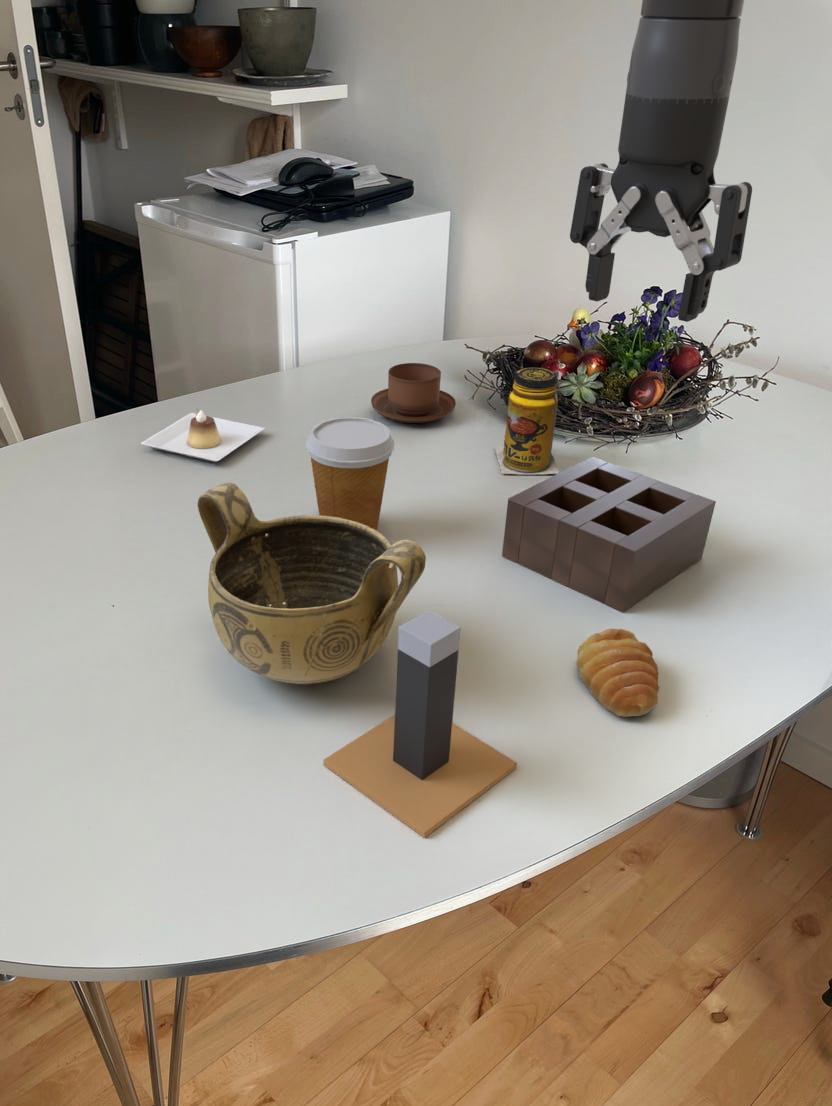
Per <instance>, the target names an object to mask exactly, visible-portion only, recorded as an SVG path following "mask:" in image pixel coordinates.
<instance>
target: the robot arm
mask: <svg viewBox="0 0 832 1106" xmlns="http://www.w3.org/2000/svg"><path fill="white" fill-rule="evenodd" d="M744 4H745V0H642V2H641V8H640V16H641V17H639V21H638V26H637V30H636V35H635V38H634V41H633V45H632V50H631V54H630V60H629V68H628V73H627V76H626V89H625V95H624V96H625V97H624V102H623V103H624V104H623V111H622V119H621V124H620V125H621V126H620V133H619V141H618V145H617V146H618V147H617V152H618V157H619V158H618V162H617V165H616V168H610V167H609V166H608V164H606V163H604V162H603V163H602V162H601V163H596V164H591V165H588V166H584V167H583V168H582V169H581V170H580V174H579V178H578V184H577V191H576V197H575V202H574V208H573V215H572V220H571V226H570V232H569V239H570V241H571V242H572V243H573V244H580V245H581V246H582V247H584V248H585V249H586V250H587V252H588V263H587V271H586V277H585V278H586V279H585V283H584V284H585V286H584V287H585V291H586V293H588V300H589V301H591V302H593V301H594V302H601V301H603V300H606V299H607V298H608V297H609V295H610V290H611V284H612V277H613V270H614V263H615V256H616V253H615V252H612V249H613V248H614V247H616V245H617V244H618V242H620V240H621V239H622V238H623V237H624V236H625V234H627V233H628V232H633V233H639V234H640V233H647V232H649V233H650V234H652V235H653V236H657V237H661V238H668V237H671V238H672V241H673V243H674V245H675V248H676V249H677V250H679V251H680V252H681V254H682V256H683V259H684V261H685V263H686V266H687V267H688V271H689V272H688V273H686V274H685V278H684V283H683V289H682V293H681V299H680V305H679V308H678V316H677V319H678V321H682V322H685V323H689V322H691V321H693V320H696V319H697V318H698V317H699V314H702V313H704V311H705V310H706V308H707V307H708V306H707V305H708V302H709V301H708V300H709V296H710V295H709V294H710V290H711V288H712V287H711V286H712V281H713V277H714V274H715V272H716V271H717V272H718V271H722V270H726V269H728V268H731V267H733V266H736V265H738V264H739V263H740V262H741V260H742V256H743V250H744V244H745V237H746V232H747V226H748V219H749V212H750V207H751V199H752V194H753V187H752V184H751V183H750V182H748V181H742V182H739V183H736V184H728V183H727V184H726V183H725V184H724V183H716V180H715V179H716V178H715V174H714V173H715V166H716V162H717V160H718V156H719V153H720V149H721V142H722V136H723V132H724V127H725V121H726V117H727V111H728V105H729V101H730V96H731V91H732V85H733V79H734V74H735V70H736V65H737V59H738V54H739V53H738V52H739V40H740V39H739V38H740V26H741V20H742V19H741V18H740V17H742V15H743V9H744ZM610 189H611V190H612V192H613V195H614V198H615V201H616V203H617V204H616V205H615V206H614V208H613V209H612V210H611V212H609V214H608V215H607V216H606V217H605V218H604V220H603V221H601V217H602V213H603V211H602V210H603V207H604V200H605V195H607V194H608V193H609V191H610ZM710 202H713V205H714V206H713V207H714V209H713V210H714V212H715V214H716V215H717V216H718V218H717V223H716V231H715V238H714V245H713V243H712V240H711V230H710V228H709V226H708V223H707V220H706V218H705V215H704V214H703V210H704V209H705V208H706V207H707V206H708V204H710ZM600 222H601V224H600Z"/></svg>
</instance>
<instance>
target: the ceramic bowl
mask: <svg viewBox="0 0 832 1106" xmlns="http://www.w3.org/2000/svg"><path fill="white" fill-rule="evenodd" d="M197 509H198V514H199V518H200V519H201V522H202V524H203V526H204V529H205V531H206V533H207V536H208V538H209V540H210V543H211V545H212V548H213V550H214V553H215V554H214V555H213V557H212V559H211V561H210V564H209V565H210V566H209V572H208V581H207V596H208V597H207V599H208V606H209V611H210V615H211V618H212V622H213V625H214V629H215V631H216V634H217V636H218V638H219V640H220V642H221V643H222V646H223V647H224V648H225V649H226V651H228V653H229V655H231V656H232V658H233V659H234V660H236V662H238V663H239V664H240V665H242V666H243V667H245V668H246V669H248V670H250V671H251V672H253V673H256V674H258V675H259V676H262V677H264V678H267V679H268V680H273V681H277V682H280V683H284V684H285V683H286V684H293V685H312V684H313V685H314V684H322V683H327V682H331V681H334V680H338V679H340V678H343V677H345V676H347V675H349V674H351V673H353V672H355V671H356V670H358V669H360V668H361V667H362V666H364V664H366V663H368V661H369V660H370V659H372V658H373V656H374V655H375V654H376V653H377V652H378V651H379V649H380V648H381V647H382V646H383V644H384V643H385V641H386V639H387V637H388V635H389V633H390V631H391V629H392V626H393V623H394V621H395V617H396V614H397V612H398V610H399V609H400V608H401V606H402V604H403V603H404V602H405V600H406V598H407V597H408V595H409V594H410V593H411V591H412V589H413V588H414V586H415V585H416V584H417V583H418V581H419V579H420V578H421V577H422V575H423V573H424V571H425V568H426V561H427V556H426V553H425V552H424V550H423V548H422V547H421V545H420V544H418V543H417V542H415V541H414V540H413V541H412V540H410V539H400V540H398V541H395V542H394V543H393V544H391V542H390V541H389V540H388V538H387V537H386V536H385V535H383V534H382V533H381V532H379V531H378V530H377V531H376V530H375V529H372V528H370V527H369V526H366V525H364V524H361V523H358V522H355V521H351V520H347V519H343V518H339V517H331V516H319V514H317V515H316V514H313V515H312V514H311V515H310V514H309V515H307V514H306V515H305V514H304V515H291V516H282V517H278V518H274V519H270V520H265V521H264V520H260V519H258V518H257V517H256V514H255V513H254V511H253V508H252V506H251V503H250V502H249V499H248V497H247V496H246V495H245V493H244V491H243V490H242V489H241V488H240V487H239V486H238V485H237V484H236V483H233V482H231V481H228V482H227V481H225V482H223V483H221V484H219V485H217V486H215V487H212V488H210V489H208V490H206V491H205V492H204V493H202V494H201V495H200V496H199V497H198V499H197ZM398 570H399V572H400V574H401V577H400V582H399V577H398Z"/></svg>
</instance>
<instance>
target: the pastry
mask: <svg viewBox="0 0 832 1106" xmlns="http://www.w3.org/2000/svg"><path fill="white" fill-rule="evenodd" d="M653 654H654V653H653V651H652V649H650V647H649V646H648V644H647V643H646V642H643V641H639V639H637V637H636V636H635V633H633V632H631V631H629V630H627V629H623V628H607V629H605V630H603V631H600V632H596V633H593V634H591V635H590V636H589V637H587V638H586V640H584V641H583V642H582V643H581V644H580V645H579V646H578V649H577V659H576V669H577V672H578V673H579V674H578V675H579V676H580V677H579V678H580V679H581V681H582V682H583V683H584V685H585V687H586V688H587V689H588V690H589V692H590V694H592V697H593V696H594V698H595V699H596V701H597V702H599V704H600V705H601V706H602V707H603V708H604V709H606V710H608V711H610V712H611V713H613V714H614V715H615V716H617V717H623V718H626V717H640V716H644V715H647V714H649V713H650V711H651V710H653V708H654V707H656V706H657V705H658V703H659V702H658V701H659V700H658V699H659V697H658V695H659V691H660V685H659V674H660V673H659V667H658V665H657V663H656V662H655V659H654V657H653Z"/></svg>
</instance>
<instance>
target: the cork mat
mask: <svg viewBox="0 0 832 1106" xmlns="http://www.w3.org/2000/svg"><path fill="white" fill-rule="evenodd" d="M394 725H395V714H393V715H392V716H390V717H388V718H387V719H385V720H384V721H382V722H381V723H379V724H377V725H375V726H374V727H373V728H371V729H369V730H368V731H366V732H365V733H363V734H362V735H360V736H358V737H357V738H356V739H354V740H352V741H351V742H349V743H348V744H346V745H344V746H343V747H341V748H339V749H338V750H336V751H335V752H333V753H332V754H330V755H329V756H327V757H325V758H324V759H323V760H322V762H323V764H322V765H323V766H324V767H326V768H327V769H328V770H330V772H332V773H334V774H335V775H337V776H338V777H340V778H341V779H342V780H344V781H345V782H346V783H347V784H349V785H350V786H352V787H353V788H354V789H356V790H358V791H359V792H360V793H361V794H363V795H364V796H366V797H367V798H368V799H369V800H371V801H372V802H374V803H375V804H377V805H378V807H381V808H382V809H383V810H384V811H386V812H387V813H388V814H390V815H392V816H393V817H395V818H396V819H397V820H399V821H400V822H401V823H403V825H405V826H407V827H409V829H411V830H413V831H414V832H415V833H417V834H418V835H420V837H422V838H426V837H428V836H429V835H430V834H432V833H433V832H434V831H436V830H437V829H438V828H439V827H441V826H442V825H444V824H445V823H447V822H448V821H449V820H450V819H452V818H453V817H454V816H455V815H456V814H458V813H459V812H461V811H462V810H463V809H464V808H466V807H467V806H468V805H470V804H471V803H473V802H474V801H475V800H476V799H478V798H479V797H481V796H482V795H483V794H484V793H485V792H488V790H489V789H491V788H492V787H494V786H495V785H496V784H497V783H499V782H501V780H503V779H504V778H505V777H507V776H508V775H509V774H511V773H512V772H513V771H515V770H516V769H517V767H518V762H516V761H515V760H513V759H512V758H510V757H508V756H506V755H505V754H503V753H502V752H501V751H499V750H497V749H496V748H493V747H492V746H491V745H490V744H488V743H485V742H484V741H482V740H481V739H479V738H478V737H476V736H475V735H472V734H471V733H469V731H467V730H464V729H462V728H461V727H460V726H458V725H457V724H455V723H453V722H452V731H451V742H450V754H449V762H447V763H446V764H445V765H443V766H442V767H440V768H439V769H438V770H436V771H435V772H433V773H432V774H430V775H429V776H428V777H426V778H425V779H423V780H421V779H419V778H418V777H416V776H415V775H413V774H412V773H410V772H409V771H408V770H406V769H405V768H403V767H402V766H400V765H399V764H397V763H396V762H394V761H393V748H394Z"/></svg>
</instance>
